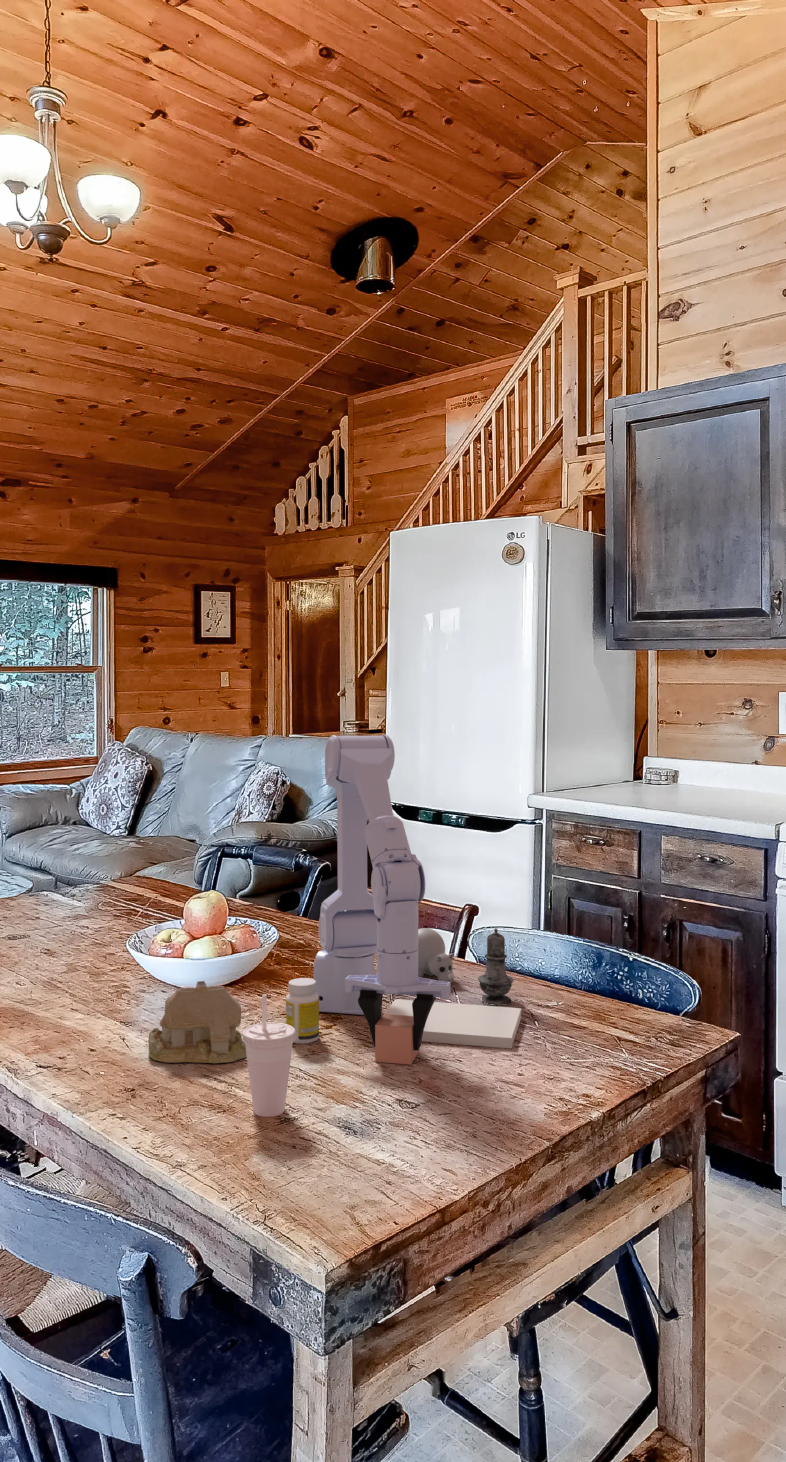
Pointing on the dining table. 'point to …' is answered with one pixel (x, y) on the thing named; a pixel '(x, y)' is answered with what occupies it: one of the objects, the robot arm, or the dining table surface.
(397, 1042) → the cube
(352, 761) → the robot arm
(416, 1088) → the dining table surface
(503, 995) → the salt shaker
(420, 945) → the round bodied animal figurine
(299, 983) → the supplement bottle
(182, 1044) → the ceramic model
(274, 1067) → the smoothie
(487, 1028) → the tray
